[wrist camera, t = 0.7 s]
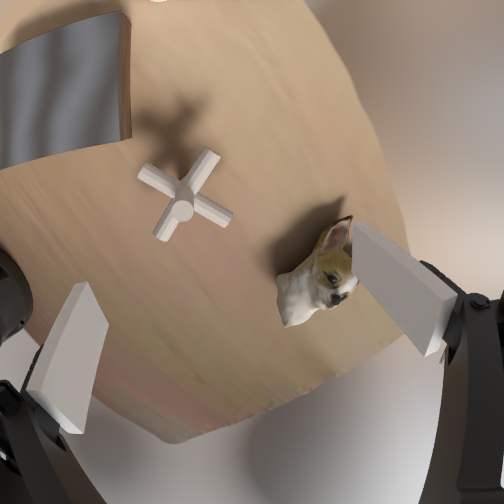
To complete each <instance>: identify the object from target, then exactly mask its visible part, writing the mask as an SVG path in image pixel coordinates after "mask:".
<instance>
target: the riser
mask: <svg viewBox="0 0 504 504" xmlns="http://www.w3.org/2000/svg"><path fill="white" fill-rule="evenodd" d="M131 25H132V24H131V23H130V21H129V20H128V19H127V18H126V16H125V15H124V14H123V12H122V11H121V10H120V11H115V12H111V13H107V14H103V15H99V16H95V17H91V18H88V19H84V20H81V21H78V22H75V23H72V24H69V25H66V26H63V27H60V28H57V29H55V30H52V31H49V32H47V33H44V34H42V35H39V36H37V37H35V38H32V39H30V40H28V41H26V42H23V43H21V44H19V45H17V46H15V47H13V48H11V49H9V50H7V51H5V52H3V53H1V54H0V170H1V169H4V168H7V167H11V166H14V165H17V164H20V163H24V162H27V161H31V160H35V159H38V158H42V157H46V156H50V155H54V154H58V153H62V152H67V151H71V150H76V149H81V148H86V147H91V146H96V145H101V144H107V143H113V142H119V141H123V140H126V139H129V138H132V128H131V107H130V45H131Z"/></svg>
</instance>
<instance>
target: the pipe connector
mask: <svg viewBox="0 0 504 504" xmlns="http://www.w3.org/2000/svg"><path fill="white" fill-rule="evenodd" d="M220 158H221V156H220V155H219V154H217V153H216V152H214V151H213V150H211V149H209V148H207V147H205V148H204V149H203V151H202V152H201V154H200V155H199V157H198V158H197V160H196V161H195V163H194V164H193V166H192V167H191V169H190V171H189V172H188V174H187V175H186V176H185V177H183V178H182V179H181V181H179V180H177V179H176V178H174V177H172V176H170V175H169V174H167V173H165V172H164V171H162V170H160V169H158V168H157V167H155V166H153V165H151V164H150V163H148V162H146V163H145V165H144V166H143V168H142V169H141V171H140V173H139V175H138V177H137V178H138V179H140V180H142V181H144V182H145V183H147V184H149V185H151V186H152V187H154V188H156V189H158V190H159V191H161V192H163V193H165V194H166V195H168V196H170V197H172V200H171V201H170V203H169V205H168V206H167V208H166V210H165V211H164V213H163V215H162V217H161V218H160V220H159V222H158V223H157V225H156V227H155V229H154V231H153V234H154V236H155V237H156V238H158V239H159V240H162V241H168V239H169V238H170V236H171V234H172V233H173V231H174V229H175V228H176V226H177V224H178V223H179V221H181V222H184V221H187V220H189V219H190V218H191V217H192V216H193V212H194V211H196V212H198V213H199V214H201V215H203V216H204V217H206V218H208V219H210V220H211V221H213V222H215V223H217V224H218V225H220V226H222V227H223V228H225V227H226V226H227V225H228V224H229V222H230V220H231V219H232V216H233V212H231V211H229V210H228V209H226V208H224V207H223V206H221V205H219V204H218V203H216V202H214V201H213V200H211V199H209V198H208V197H206V196H204V195H203V194H201V193H199V192H198V191H199V189H200V188H201V186H202V185H203V183H204V182H205V180H206V179H207V177H208V176H209V174H210V173H211V171H212V170H213V168H214V167H215V165H216V164H217V162H218V161H219V159H220Z"/></svg>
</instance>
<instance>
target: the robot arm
mask: <svg viewBox="0 0 504 504" xmlns="http://www.w3.org/2000/svg"><path fill="white" fill-rule="evenodd" d="M351 272H352V273H353V274H354V275H355V276H356V277H357V278H358V280H359V281H360V282H361V283H362V284H363V285H364V286H365V287H366V288H367V290H368V291H369V292H370V293H371V294H372V295H373V296H374V298H375V299H376V300H377V301H378V302H379V303H380V304H381V306H382V307H383V308H384V309H385V310H386V311H387V313H388V314H389V315H390V316H391V317H392V318H393V320H394V321H395V322H396V323H397V324H398V326H399V327H400V328H401V329H402V330H403V332H404V333H405V334H406V335H407V336H408V338H409V339H410V340H411V341H412V343H413V344H414V345H415V346H416V347H417V349H418V350H419V351H420V352H421V354H422V355H423V356H424V357H425V356H427V355H429V354H431V353H433V352H435V351H437V350H438V349H439V347H440V344H441V342H442V339H443V340H444V341H445V342H446V343H447V346H446V348H445V351H444V353H443V355H442V358H441V360H440V363H442V362H443V360H444V359H445V363H444V378H443V379H444V380H443V390H442V399H441V407H440V414H439V421H438V427H437V433H436V438H435V443H434V448H433V453H432V457H431V462H430V466H429V470H428V474H427V477H426V481H425V484H424V488H423V491H422V494H421V498H420V500H419V503H418V504H504V488H502V487H501V484H500V482H501V472H502V465H503V455H504V290H503V293H502V295H501V298H500V299H497V300H492V301H490V300H489V299H488V298H487V297H486V296H484V295H482V294H478V293H470V294H466V293H465V292H464V291H463V290H462V289H461V288H459V287H458V286H457V285H456V284H455V283H454V282H452V281H451V280H450V279H449V278H446V276H445V275H444V274H443V273H441V272H440V271H439V270H438V269H436V268H435V267H434V266H433V265H431V264H429V263H427V262H424V261H422V260H421V261H418V260H416V259H415V258H414V257H412V256H411V255H410V254H409V253H408V252H406V251H405V250H404V249H402V248H401V247H400V246H398V245H397V244H396V243H395V242H393V241H392V240H391V239H389V238H388V237H387V236H385V235H384V234H382V233H381V232H380V231H378V230H377V229H376V228H374V227H373V226H372V225H370V224H369V223H367V222H366V221H365V222H360V223H355V224H353V239H352V270H351ZM32 311H33V299H32V294H31V291H30V288H29V285H28V283H27V281H26V279H25V277H24V275H23V274H22V272H21V270H20V269H19V268H18V266H17V265H16V264H15V263H14V261H13V260H12V259H11V258H10V257H9V256H8V255H6V254H5V253H4V252H2V251H1V250H0V347H1V345H2V343H3V342H5V341H6V340H8V339H9V338H10V337H12V336H13V335H14V334H16V333H17V332H19V331H20V330H21V329H23V328H24V326H25V325H26V324H27V322H28V320H29V319H30V317H31V315H32ZM108 326H109V324H108V322H107V320H106V318H105V316H104V314H103V312H102V311H101V309H100V307H99V305H98V303H97V300H96V298H95V296H94V294H93V292H92V290H91V288H90V286H89V284H88V281H87V282H82V283H78V284H75V285H74V287H73V289H72V291H71V292H70V294H69V296H68V298H67V300H66V302H65V303H64V305H63V307H62V309H61V311H60V313H59V315H58V317H57V319H56V321H55V323H54V325H53V327H52V329H51V331H50V333H49V335H48V338H47V340H46V342H45V344H43V345H42V346H41V347H40V348H39V350H38V351H37V352H36V354H35V357H34V359H33V361H32V362H33V363H32V364H31V366H30V368H29V369H30V370H29V371H28V373H27V376H26V378H25V380H24V383H23V385H22V389H21V391H20V393H19V392H18V391H17V390H16V389H15V388H14V387H13V386H12V384H11V383H10V382H9V381H7V380H0V451H1V452H2V453H4V454H5V455H6V460H4V459H3V458H2V457H1V456H0V504H106V502H105V501H104V499H103V498H102V497H101V495H100V494H99V493H98V491H97V490H96V489H95V487H94V486H93V484H92V483H91V481H90V480H89V479H88V477H87V475H86V474H85V472H84V471H83V469H82V468H81V466H80V464H79V463H78V461H77V460H76V458H75V456H74V455H73V453H72V451H71V450H70V448H69V446H68V444H67V443H66V441H65V439H64V437H63V436H62V435H61V434H60V433H59V427H60V426H61V427H62V428H64V429H65V430H66V431H67V432H68V433H77V434H83V433H84V428H85V422H86V417H87V411H88V406H89V402H90V397H91V392H92V388H93V383H94V379H95V375H96V370H97V366H98V362H99V359H100V355H101V351H102V347H103V344H104V340H105V337H106V333H107V330H108Z"/></svg>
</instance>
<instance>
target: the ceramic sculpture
mask: <svg viewBox="0 0 504 504" xmlns="http://www.w3.org/2000/svg"><path fill="white" fill-rule="evenodd" d="M352 218H353V215H350V216H347V217H345V218H342V219H339V220H337V221H335V222H334V223H332V224H331V225H329V226H328V227H327V228H326V229H325V230H324V231H323V232H322V234H321V235H320V237H319V239H318V241H317V243H316V245H315V247H314V249H313V253H312V254H311V255H310V256H308V257H307V258H306V259H305V261H304V262H302V263H301V264H300V265H299V266H298V267H297V268H296V269H295V270H293V271H292V272H289V273H283V274H280V275H278V276H277V277H276V283H277V288H278V297H277V306H278V309H279V313H280V315H281V318H282V322H283V325H284V326H285V327H289V326H291V325H297V324H301V323H303V322H304V321H306V320H307V319H309V318H310V316H311V315H312V314H313V313H314V312H315V311H316V310H318V309H322V310H326V309H333V308H335V307H336V306H337V305H338V304H339V303H340V302H341V301H343V300H345V299H346V298H347V297H348V295H350V294H351V293H353V291H354V290H355V288H356V286H357V285H358V284H359V280H358V278H357V277H356V276H355V275H354V274H353V273H352V272H351V270H352V258H351V257H350V256H349V255H348V254H347V253H346V252H344V251H343V247H344V246H345V244H346V242H347V240H348V235H349V227H350V223H351V221H352Z"/></svg>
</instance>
